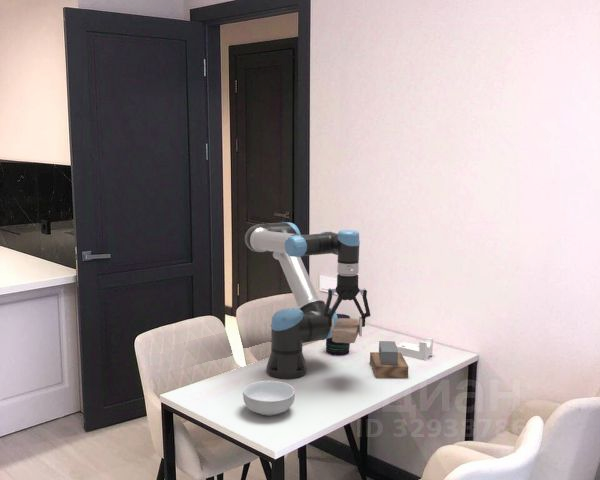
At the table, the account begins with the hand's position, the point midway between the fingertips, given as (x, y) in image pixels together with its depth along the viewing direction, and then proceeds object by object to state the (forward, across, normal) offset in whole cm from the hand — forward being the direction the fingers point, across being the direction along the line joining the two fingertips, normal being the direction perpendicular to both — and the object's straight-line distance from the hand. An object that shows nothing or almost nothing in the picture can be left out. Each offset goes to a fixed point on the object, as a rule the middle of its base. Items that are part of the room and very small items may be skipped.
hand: (346, 335), depth 236 cm
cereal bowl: (+18, -27, -25) cm, 41 cm away
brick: (+1, 0, 0) cm, 1 cm away
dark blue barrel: (+18, 0, +34) cm, 38 cm away
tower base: (+18, +18, +12) cm, 28 cm away
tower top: (+13, +18, +12) cm, 25 cm away
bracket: (+18, +31, +31) cm, 47 cm away
